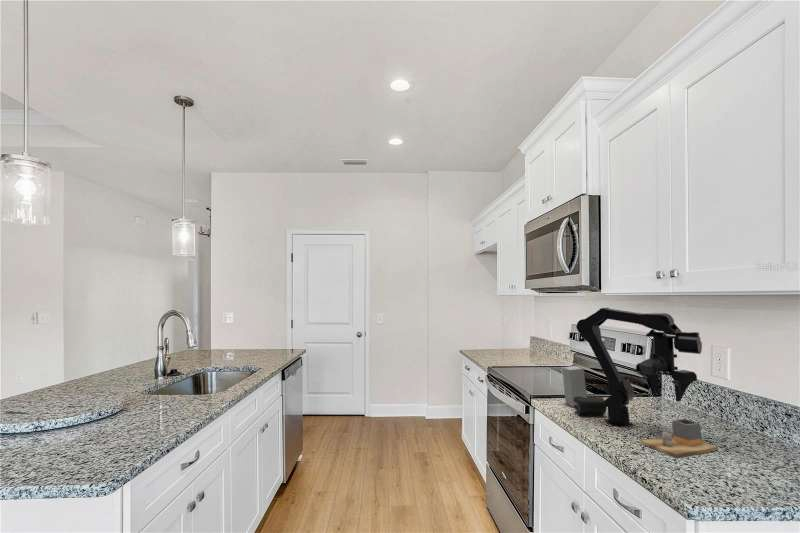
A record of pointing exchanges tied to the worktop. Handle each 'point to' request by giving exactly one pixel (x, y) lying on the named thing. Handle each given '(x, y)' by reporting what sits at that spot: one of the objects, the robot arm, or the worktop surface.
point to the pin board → (676, 446)
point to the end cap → (590, 406)
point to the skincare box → (574, 384)
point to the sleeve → (687, 432)
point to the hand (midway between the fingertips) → (665, 397)
